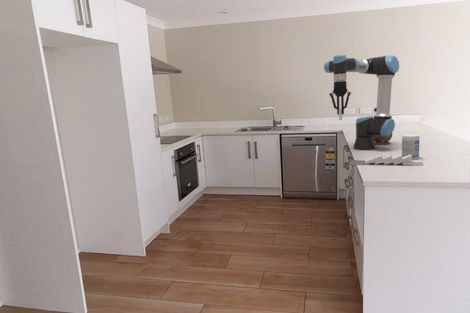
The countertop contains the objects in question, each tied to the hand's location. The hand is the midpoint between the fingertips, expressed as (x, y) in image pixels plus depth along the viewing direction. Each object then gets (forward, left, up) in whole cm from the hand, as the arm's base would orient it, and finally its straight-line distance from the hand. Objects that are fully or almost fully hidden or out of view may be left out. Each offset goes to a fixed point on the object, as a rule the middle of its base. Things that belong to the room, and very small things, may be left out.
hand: (340, 119), depth 216 cm
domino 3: (+8, +25, -25) cm, 36 cm away
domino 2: (+8, +20, -25) cm, 33 cm away
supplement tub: (-9, +40, -27) cm, 49 cm away
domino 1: (+8, +15, -25) cm, 30 cm away
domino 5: (+8, +35, -25) cm, 44 cm away
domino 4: (+8, +30, -25) cm, 40 cm away
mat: (+6, +23, -26) cm, 35 cm away
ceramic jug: (-64, +24, -27) cm, 73 cm away
